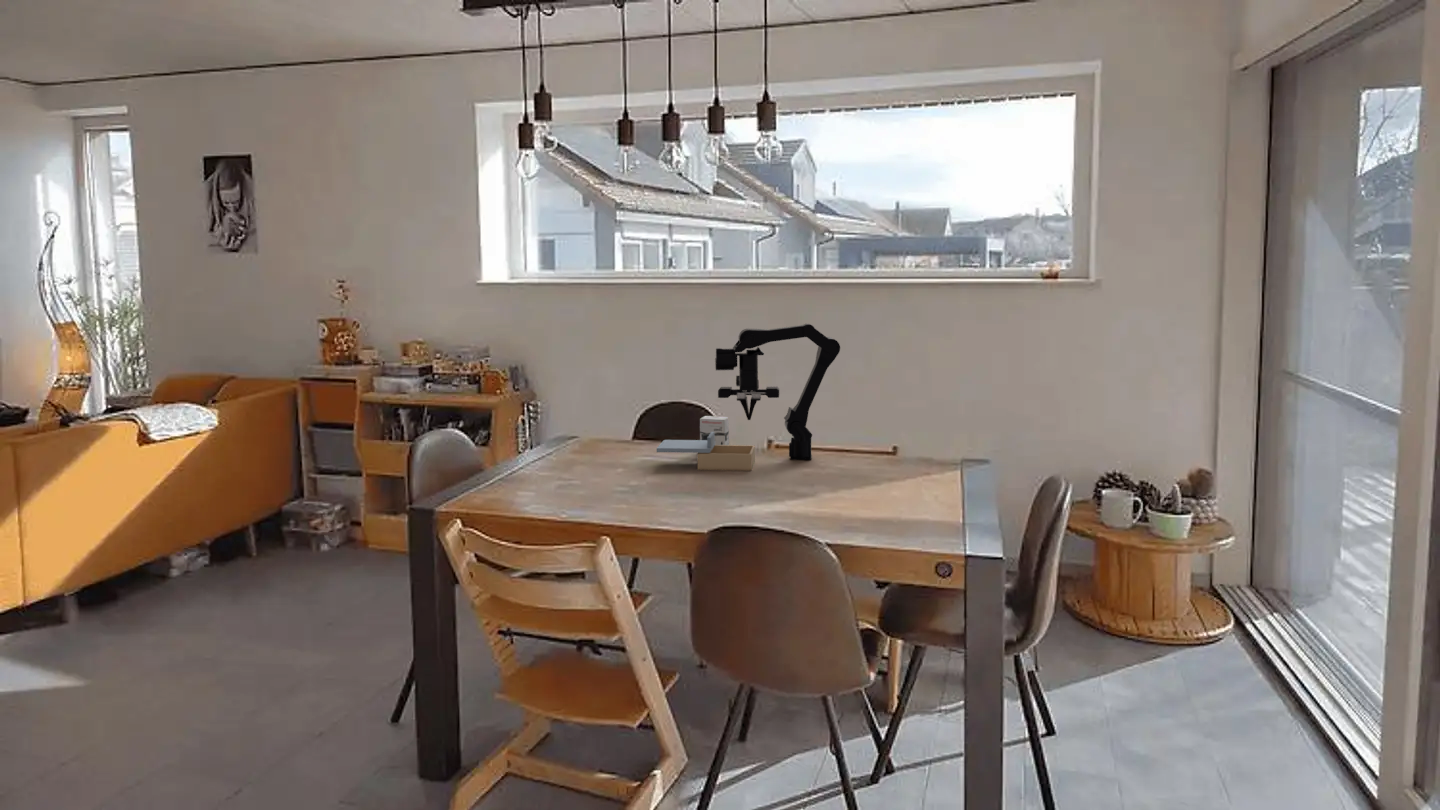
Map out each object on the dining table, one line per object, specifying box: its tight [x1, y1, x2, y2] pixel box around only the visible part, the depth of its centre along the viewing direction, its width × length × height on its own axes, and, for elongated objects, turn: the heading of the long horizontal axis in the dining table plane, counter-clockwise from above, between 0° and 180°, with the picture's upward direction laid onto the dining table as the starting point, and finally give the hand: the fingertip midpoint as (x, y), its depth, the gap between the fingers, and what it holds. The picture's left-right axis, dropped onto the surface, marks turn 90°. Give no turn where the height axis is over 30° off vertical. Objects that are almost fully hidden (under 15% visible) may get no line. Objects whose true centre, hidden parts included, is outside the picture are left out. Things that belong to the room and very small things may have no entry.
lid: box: [656, 432, 715, 454], centre depth 317 cm, size 16×14×4 cm
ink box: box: [699, 415, 730, 445], centre depth 335 cm, size 8×5×12 cm, turn 73°
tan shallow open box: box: [697, 444, 756, 472], centre depth 316 cm, size 16×14×5 cm
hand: (749, 419), depth 324 cm, fingers closed
